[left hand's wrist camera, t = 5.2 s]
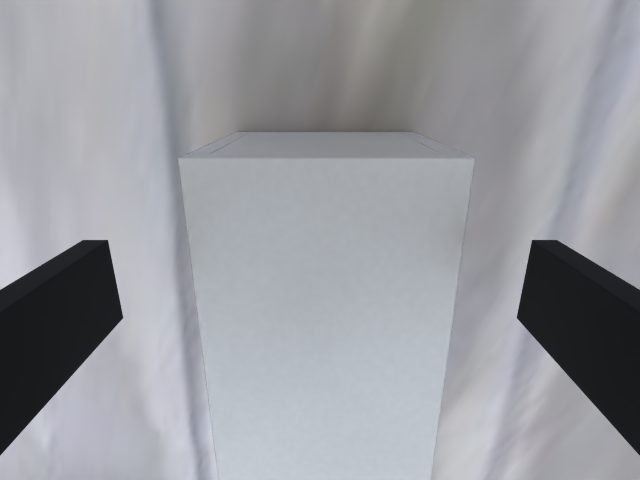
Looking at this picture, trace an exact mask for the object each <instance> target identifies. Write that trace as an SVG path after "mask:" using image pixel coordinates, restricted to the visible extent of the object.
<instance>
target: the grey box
mask: <svg viewBox="0 0 640 480" xmlns="http://www.w3.org/2000/svg"><path fill="white" fill-rule="evenodd" d="M474 163H475V159H474V158H473V157H470V156H468V155H466V154H464V153H462V152H459V151H457V150H455V149H452V148H450V147H448V146H445V145H443V144H441V143H438V142H436V141H434V140H431V139H429V138H427V137H424V136H422V135H420V134H417V133H414V132H235V133H233V134H231V135H228V136H226V137H224V138H222V139H219V140H217V141H215V142H213V143H211V144H208V145H206V146H204V147H202V148H199V149H197V150H195V151H193V152H191V153H188V154H186V155H184V156H182V157H180V158H178V164H179V172H180V180H181V188H182V195H183V203H184V211H185V219H186V227H187V235H188V243H189V251H190V259H191V267H192V274H193V282H194V290H195V298H196V306H197V314H198V322H199V330H200V338H201V346H202V354H203V361H204V369H205V377H206V385H207V393H208V401H209V409H210V417H211V425H212V433H213V441H214V448H215V456H216V464H217V472H218V480H431V474H432V467H433V460H434V453H435V445H436V438H437V431H438V424H439V416H440V409H441V402H442V395H443V387H444V380H445V373H446V366H447V358H448V351H449V344H450V337H451V329H452V322H453V315H454V308H455V300H456V293H457V286H458V279H459V271H460V264H461V257H462V250H463V242H464V235H465V228H466V221H467V213H468V206H469V199H470V192H471V184H472V177H473V170H474Z"/></svg>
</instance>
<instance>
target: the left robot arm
mask: <svg viewBox="0 0 640 480" xmlns="http://www.w3.org/2000/svg"><path fill="white" fill-rule="evenodd" d="M122 319H123V315H122V310H121V305H120V299H119V294H118V289H117V284H116V279H115V274H114V269H113V264H112V259H111V254H110V249H109V244H108V240H82V241H81V242H79V243H78V244H76V245H74V246H73V247H71V248H69V249H68V250H66V251H64V252H63V253H61V254H59V255H58V256H56V257H54V258H53V259H51V260H49V261H48V262H46V263H44V264H43V265H41V266H39V267H38V268H36V269H34V270H33V271H31V272H29V273H28V274H26V275H24V276H23V277H21V278H19V279H18V280H16V281H14V282H13V283H11V284H9V285H8V286H6V287H4V288H3V289H1V290H0V455H1V454H2V453H3V452H4V451H5V450H6V448H7V447H8V446H9V445H10V444H11V443H12V442H13V441H14V439H15V438H16V437H17V436H18V435H19V434H20V433H21V432H22V431H23V429H24V428H25V427H26V426H27V425H28V424H29V423H30V422H31V420H32V419H33V418H34V417H35V416H36V415H37V414H38V413H39V412H40V410H41V409H42V408H43V407H44V406H45V405H46V404H47V403H48V401H49V400H50V399H51V398H52V397H53V396H54V395H55V394H56V392H57V391H58V390H59V389H60V388H61V387H62V386H63V385H64V384H65V382H66V381H67V380H68V379H69V378H70V377H71V376H72V375H73V373H74V372H75V371H76V370H77V369H78V368H79V367H80V366H81V364H82V363H83V362H84V361H85V360H86V359H87V358H88V357H89V356H90V354H91V353H92V352H93V351H94V350H95V349H96V348H97V347H98V345H99V344H100V343H101V342H102V341H103V340H104V339H105V338H106V337H107V335H108V334H109V333H110V332H111V331H112V330H113V329H114V328H115V326H116V325H117V324H118V323H119V322H120V321H121V320H122ZM517 319H518V320H519V321H520V322H521V323H522V324H523V325H524V326H525V328H526V329H527V330H528V331H529V332H530V333H531V334H532V335H533V337H534V338H535V339H536V340H537V341H538V342H539V343H540V344H541V345H542V347H543V348H544V349H545V350H546V351H547V352H548V353H549V354H550V356H551V357H552V358H553V359H554V360H555V361H556V362H557V363H558V364H559V366H560V367H561V368H562V369H563V370H564V371H565V372H566V373H567V375H568V376H569V377H570V378H571V379H572V380H573V381H574V382H575V384H576V385H577V386H578V387H579V388H580V389H581V390H582V391H583V392H584V394H585V395H586V396H587V397H588V398H589V399H590V400H591V401H592V403H593V404H594V405H595V406H596V407H597V408H598V409H599V410H600V412H601V413H602V414H603V415H604V416H605V417H606V418H607V419H608V420H609V422H610V423H611V424H612V425H613V426H614V427H615V428H616V429H617V431H618V432H619V433H620V434H621V435H622V436H623V437H624V438H625V439H626V441H627V442H628V443H629V444H630V445H631V446H632V447H633V448H634V450H635V451H636V452H637V453H638V454H639V455H640V290H639V289H637V288H636V287H634V286H632V285H631V284H629V283H627V282H626V281H624V280H622V279H621V278H619V277H617V276H616V275H614V274H612V273H611V272H609V271H607V270H606V269H604V268H602V267H601V266H599V265H597V264H596V263H594V262H592V261H591V260H589V259H587V258H586V257H584V256H582V255H581V254H579V253H577V252H576V251H574V250H572V249H571V248H569V247H567V246H566V245H564V244H562V243H561V242H559V241H558V240H532V244H531V249H530V254H529V259H528V264H527V269H526V274H525V279H524V284H523V289H522V294H521V299H520V305H519V310H518V315H517Z"/></svg>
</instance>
